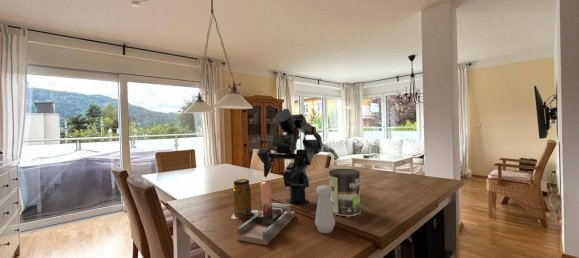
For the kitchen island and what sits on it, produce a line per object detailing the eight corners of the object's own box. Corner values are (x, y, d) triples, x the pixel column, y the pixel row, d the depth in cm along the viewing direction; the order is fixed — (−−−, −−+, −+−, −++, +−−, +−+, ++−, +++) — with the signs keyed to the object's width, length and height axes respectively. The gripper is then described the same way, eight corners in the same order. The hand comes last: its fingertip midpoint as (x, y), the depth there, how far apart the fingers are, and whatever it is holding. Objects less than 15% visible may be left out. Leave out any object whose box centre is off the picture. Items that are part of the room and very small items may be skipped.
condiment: (235, 211, 92) (234, 178, 91) (258, 210, 92) (257, 177, 91) (230, 219, 84) (229, 183, 84) (255, 218, 84) (254, 182, 84)
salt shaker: (313, 226, 76) (312, 184, 76) (332, 225, 77) (331, 183, 76) (317, 235, 70) (316, 189, 70) (337, 234, 71) (336, 188, 70)
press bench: (271, 212, 89) (270, 200, 88) (295, 215, 85) (294, 203, 85) (237, 239, 69) (236, 224, 69) (266, 245, 66) (265, 228, 66)
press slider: (265, 215, 82) (264, 178, 81) (282, 218, 79) (281, 179, 79) (255, 223, 76) (254, 182, 75) (273, 225, 74) (272, 184, 73)
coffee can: (365, 210, 88) (365, 170, 87) (351, 220, 80) (350, 176, 80) (340, 204, 95) (339, 167, 94) (324, 212, 87) (323, 172, 87)
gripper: (258, 126, 91) (242, 162, 81) (308, 125, 84) (297, 164, 74) (269, 145, 99) (256, 180, 89) (315, 146, 91) (306, 184, 82)
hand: (277, 177), depth 83 cm, fingers open, 9 cm apart
